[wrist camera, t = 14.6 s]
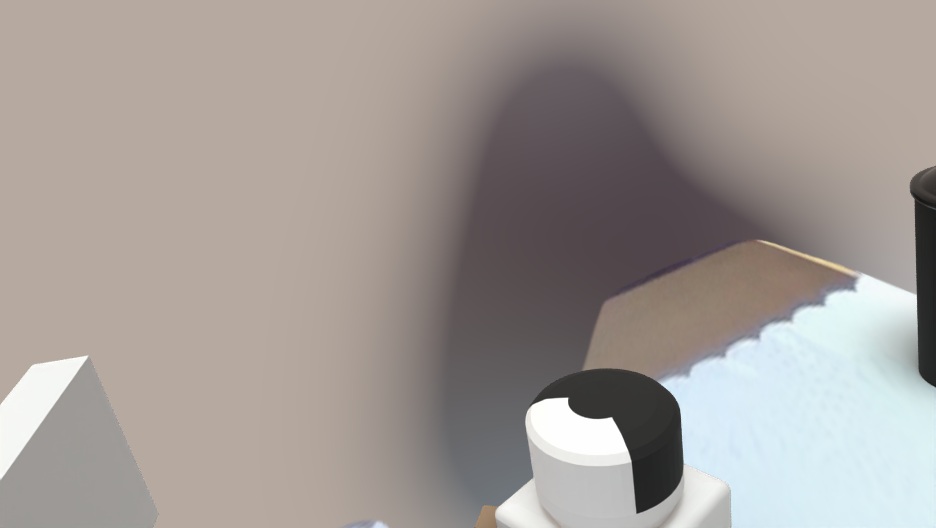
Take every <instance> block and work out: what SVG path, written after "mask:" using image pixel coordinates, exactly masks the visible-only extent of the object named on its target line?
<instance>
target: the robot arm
mask: <svg viewBox="0 0 936 528" xmlns="http://www.w3.org/2000/svg"><path fill="white" fill-rule="evenodd" d="M158 515H159V513H158V511H157V508H156V506H155V504H154V502H153V500H152V497H151V495H150V493H149V490H148V488H147V486H146V484H145V481H144V479H143V477H142V474H141V472H140V470H139V468H138V466H137V463H136V461H135V459H134V456H133V454H132V452H131V450H130V447H129V445H128V443H127V440H126V438H125V436H124V434H123V431H122V429H121V427H120V425H119V422H118V420H117V418H116V415H115V413H114V411H113V409H112V407H111V404H110V402H109V400H108V397H107V395H106V393H105V391H104V388H103V386H102V384H101V381H100V379H99V377H98V375H97V373H96V370H95V368H94V366H93V363H92V361H91V359H90V357H89V356H83V357H77V358H71V359H65V360H59V361H53V362H47V363H42V364H35V365H32V366H31V368H30V369H29V370H28V371H27V373H26V374H25V375H24V376H23V378H22V379H21V380H20V381H19V383H18V384H17V385H16V386H15V388H14V389H13V390H12V391H11V392H10V394H9V395H8V396H7V397H6V399H5V400H4V401H3V403H2V404H1V405H0V528H153V527H154V524H155V522H156V519H157V517H158Z"/></svg>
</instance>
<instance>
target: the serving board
mask: <svg viewBox="0 0 936 528" xmlns="http://www.w3.org/2000/svg"><path fill="white" fill-rule="evenodd" d="M497 508H498V507H495V506H486V505H484V506H483V508H482V510H481V513H480V515H479V518H478V520H477V523H476V525H475V528H497V523H496V518H495V512H496V510H497Z"/></svg>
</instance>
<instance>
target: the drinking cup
mask: <svg viewBox="0 0 936 528" xmlns="http://www.w3.org/2000/svg"><path fill="white" fill-rule="evenodd" d="M910 193H911V195H912V196H913V198H914V199H915V237H916V273H917V275H916V276H917V277H916V278H917V319H918V360H919V372H920V374H921V376H922V377H923V378H924V379H925V380H926V381H927V382H929V383H930V384H932V385H934V386H936V166H934V167H931V168H927V169H925V170H923V171H921V172H919V173H917V174H916V175H915V176H914V177H913V178H912V180H911V182H910Z"/></svg>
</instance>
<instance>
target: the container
mask: <svg viewBox="0 0 936 528" xmlns="http://www.w3.org/2000/svg"><path fill="white" fill-rule="evenodd" d="M525 424H526V430H527V436H528V443H529V449H530V455H531V461H532V468H533V474H534V478H532V480H530V481H529V482H528V483H527V484H525V485H524V486H523V487H522V488H521V489H520V490H518V491H517V492H516V493H515V494H514V495H512V496H511V497H510V498H509V499H508V500H506V501H505V502H504V503H503V504H502V505H501V506H499V507H498V508H497V510H496V512H495V518H496V523H497V528H731V493H730V488H729V485H728V484H727V483H726V482H724V481H722V480H720V479H718V478H715V477H713V476H711V475H708V474H706V473H704V472H702V471H699V470H697V469H695V468H692V467H690V466H688V465H685V464H683V447H682V429H681V414H680V408H679V405H678V403H677V401H676V399H675V398H674V396H673V395H672V394H671V393H670V392H669V391H668V390H667V389H666V388H664V387H663V386H662V385H661V384H659V383H658V382H657V381H655V380H653V379H652V378H650V377H647V376H645V375H643V374H640V373H637V372H632V371H628V370H622V369H592V370H586V371H581V372H577V373H573V374H571V375H568V376H565V377H563V378H561V379H559V380H556V381H555V382H553V383H551V384H550V385H549V386H547V387H546V388H545V389H544V390H543V391H542V392H541V393H540V394H539V395H538V396H537V397H536V398H535V400H534V401H533V402H532V404H531V405H530V407H529V409H528V411H527V415H526V423H525Z"/></svg>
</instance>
